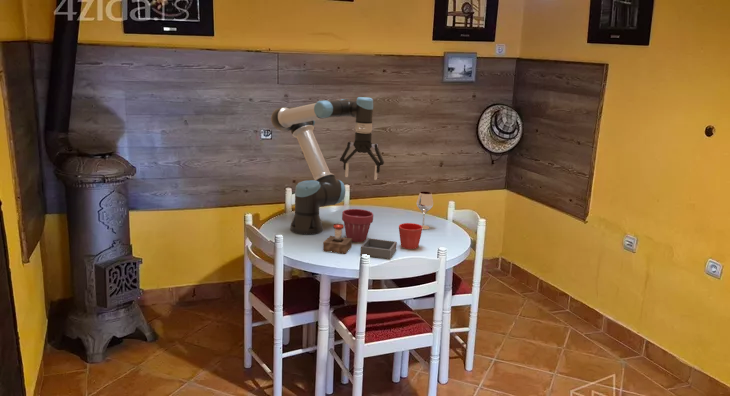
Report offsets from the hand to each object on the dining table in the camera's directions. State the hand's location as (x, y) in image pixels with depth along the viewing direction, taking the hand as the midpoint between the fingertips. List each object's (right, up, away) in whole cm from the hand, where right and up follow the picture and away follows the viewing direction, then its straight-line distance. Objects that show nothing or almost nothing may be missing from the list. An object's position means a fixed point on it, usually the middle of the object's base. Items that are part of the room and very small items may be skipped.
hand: (361, 178), depth 279 cm
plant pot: (-2, -28, +3) cm, 29 cm away
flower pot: (+22, -31, -4) cm, 38 cm away
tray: (+8, -33, -15) cm, 37 cm away
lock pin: (-10, -31, -12) cm, 35 cm away
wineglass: (+31, -24, +27) cm, 48 cm away
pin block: (-10, -31, -12) cm, 35 cm away
